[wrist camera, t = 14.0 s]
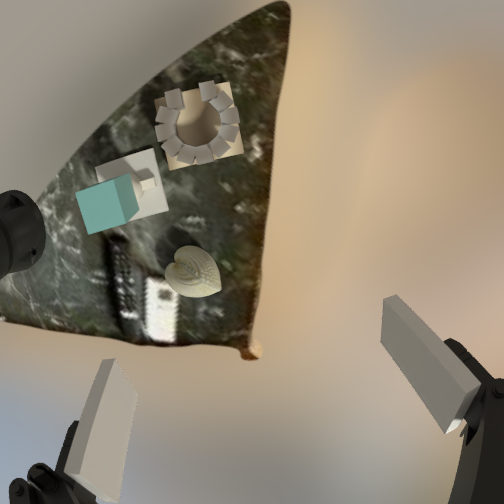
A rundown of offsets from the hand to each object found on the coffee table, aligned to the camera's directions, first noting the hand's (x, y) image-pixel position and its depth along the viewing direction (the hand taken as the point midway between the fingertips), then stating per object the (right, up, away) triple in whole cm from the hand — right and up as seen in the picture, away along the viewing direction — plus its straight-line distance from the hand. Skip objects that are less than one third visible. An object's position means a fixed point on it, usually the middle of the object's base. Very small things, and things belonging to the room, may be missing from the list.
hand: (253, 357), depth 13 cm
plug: (-19, +15, +29) cm, 37 cm away
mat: (-19, +15, +29) cm, 38 cm away
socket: (-8, +24, +27) cm, 37 cm away
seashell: (-10, +2, +36) cm, 37 cm away
